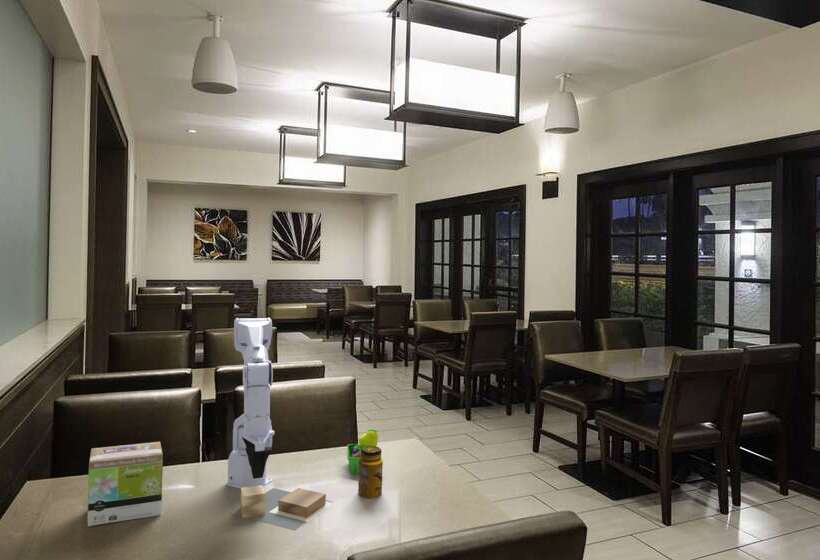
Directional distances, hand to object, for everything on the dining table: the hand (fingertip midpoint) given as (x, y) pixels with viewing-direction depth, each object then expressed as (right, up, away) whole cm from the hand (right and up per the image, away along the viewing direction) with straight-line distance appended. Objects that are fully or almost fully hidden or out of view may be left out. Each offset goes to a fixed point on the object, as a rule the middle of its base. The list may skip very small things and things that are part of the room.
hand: (255, 471), depth 131 cm
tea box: (-30, -9, -1) cm, 31 cm away
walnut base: (+10, -10, +3) cm, 14 cm away
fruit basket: (+22, -10, +31) cm, 39 cm away
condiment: (+25, -10, +12) cm, 30 cm away
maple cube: (-1, -10, 0) cm, 10 cm away
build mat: (+6, -10, +3) cm, 12 cm away
